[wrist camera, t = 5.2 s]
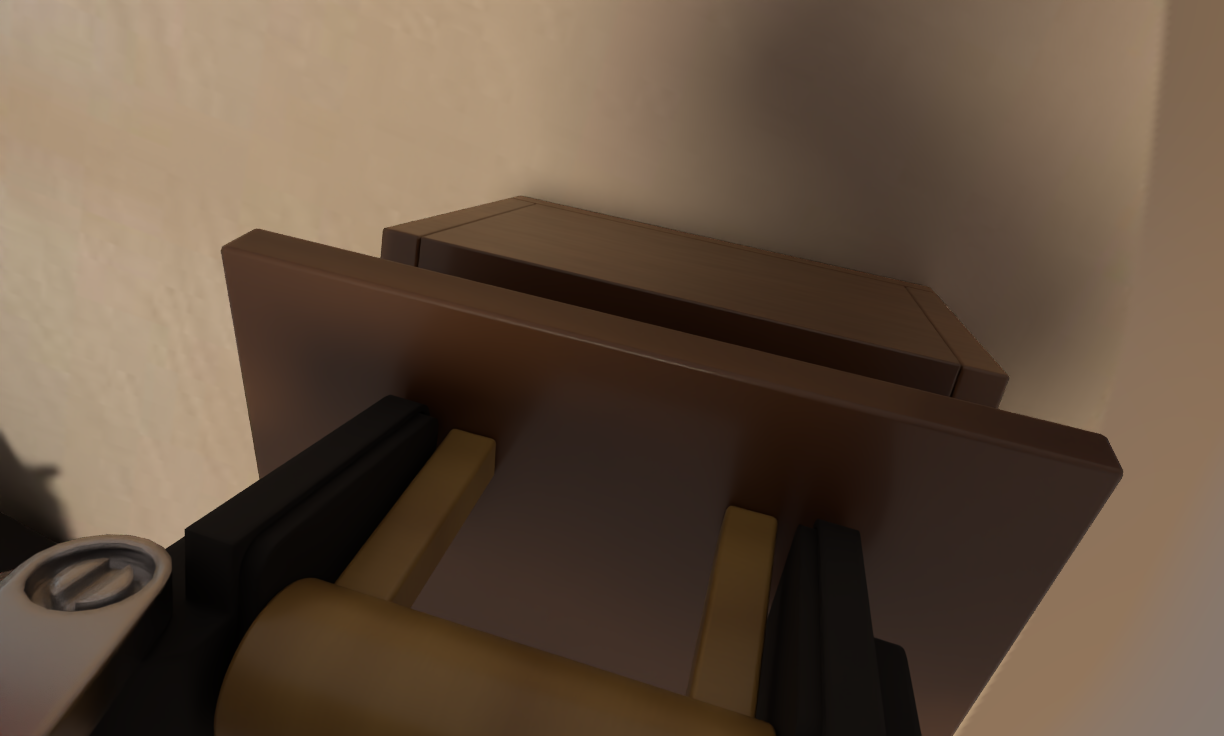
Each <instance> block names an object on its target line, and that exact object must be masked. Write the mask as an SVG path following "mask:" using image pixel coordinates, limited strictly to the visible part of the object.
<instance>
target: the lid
mask: <svg viewBox="0 0 1224 736" xmlns="http://www.w3.org/2000/svg"><path fill="white" fill-rule="evenodd" d="M221 254H222V260H223V266H224V272H225V278H226V284H227V290H228V296H229V302H230V307H231V313H232V319H233V325H234V331H235V337H236V343H237V349H238V355H239V361H240V366H241V372H242V378H243V384H244V390H245V396H246V402H247V408H248V414H249V420H250V425H251V431H252V437H253V443H254V449H255V455H256V461H257V467H258V473H259V479H261V478H263V477H264V476H266V475H267V474H269V473H270V472H272V471H273V470H275V469H276V468H278V467H279V466H281V465H282V464H284V463H285V462H287V461H289V460H290V459H292V458H293V457H295V456H296V455H298V454H299V453H301V452H302V451H304V450H305V449H307V448H308V447H310V446H311V445H313V444H314V443H316V442H317V441H319V440H320V439H322V438H323V437H325V436H326V435H328V434H329V433H331V432H332V431H334V430H335V429H337V428H338V427H340V426H341V425H343V424H344V423H346V422H347V421H349V420H350V419H352V418H354V417H355V416H357V415H358V414H360V413H361V412H363V411H364V410H366V409H367V408H369V407H370V406H372V405H373V404H375V403H376V402H378V401H379V400H381V399H382V398H384V397H385V396H388V395H393V396H397V397H400V398H404V399H407V400H411V401H414V402H418V403H421V404H425V405H427V407H428V408H429V412H430V416H431V417H434V418H437V420H438V424H439V427H438V437H437V445H436V451H435V452H434V453H433V454H432V456H431V457H430V458H429V460H428V461H427V462H426V464H425V465H424V466H423V468H422V469H421V470H420V471H419V473H418V474H417V475H416V477H415V478H414V479H413V481H412V482H411V483H410V485H409V486H408V487H407V489H406V490H405V491H404V492H403V494H402V495H401V496H400V498H399V499H398V500H397V502H396V503H395V504H394V506H393V507H392V508H391V509H390V511H389V512H388V513H387V515H386V516H385V517H384V519H383V520H382V521H381V523H380V524H379V525H378V526H377V528H376V529H375V530H374V532H373V533H372V534H371V536H370V537H369V538H368V540H367V541H366V542H365V544H364V545H363V546H362V547H361V549H360V550H359V551H358V553H357V554H356V555H355V557H354V558H353V559H352V561H351V562H350V563H349V564H348V566H347V567H346V568H345V570H344V571H343V572H342V574H341V575H340V576H339V578H338V579H337V580H336V581H335V583H334V584H333V583H330V582H326V581H323V580H320V579H317V578H304V579H299V580H297V581H294V582H292V583H291V584H289V585H288V586H286V587H285V588H283V589H282V590H281V591H280V592H279V593H277V594H276V595H275V596H274V597H273V598H272V599H271V600H270V601H269V603H268V604H267V605H266V606H265V607H264V608H263V610H262V611H261V612H260V613H259V615H258V616H257V617H256V619H255V620H254V622H253V623H252V624H251V626H250V627H249V629H248V631H247V632H246V634H245V635H244V637H243V639H242V641H241V642H240V644H239V646H238V648H237V650H236V652H235V654H234V656H233V658H232V660H231V662H230V665H229V667H228V669H227V672H226V674H225V677H224V680H223V683H222V686H221V689H220V692H219V696H218V700H217V704H216V709H215V715H214V736H777V735H776V731H775V728H774V727H773V726H772V725H771V724H770V723H769V722H766V721H763V720H759V719H756V712H757V703H758V694H759V685H760V676H761V668H762V659H763V650H764V641H765V632H766V624H767V618H768V615H769V612H770V609H771V606H772V603H773V599H774V596H775V593H776V590H777V587H778V584H779V581H780V578H781V575H782V572H783V569H784V566H785V563H786V560H787V557H788V554H789V551H790V547H791V544H792V541H793V538H794V535H795V532H796V530H797V528H798V526H799V524H800V525H803V526H807V527H810V528H813V525H814V523H815V521H816V520H817V519H821V520H824V521H827V522H831V523H834V524H838V525H841V526H845V527H848V528H852V529H855V530H858V531H859V532H860V536H861V544H862V551H863V559H864V567H865V574H866V582H867V590H868V597H869V605H870V613H871V620H872V628H873V635H874V637H875V638H878V639H881V640H884V641H887V642H891V643H894V644H897V645H900V646H901V647H902V648H904V650H905V653H906V656H907V660H908V665H909V671H910V676H911V681H912V686H913V692H914V697H915V702H916V708H917V713H918V718H919V724H920V729H921V734H922V736H953V735H954V733H955V732H956V730H957V728H958V727H959V725H960V724H961V722H962V721H963V719H964V718H965V716H966V715H967V713H968V712H969V710H970V709H971V707H972V706H973V704H974V703H975V701H976V700H977V698H978V696H979V695H980V693H981V692H982V690H983V689H984V687H985V686H986V684H987V683H988V681H989V680H990V678H991V677H992V675H993V674H994V672H995V671H996V669H997V668H998V666H999V664H1000V663H1001V661H1002V660H1003V658H1004V657H1005V655H1006V654H1007V652H1008V651H1009V649H1010V648H1011V646H1012V645H1013V643H1014V642H1015V640H1016V639H1017V637H1018V636H1019V634H1020V632H1021V631H1022V629H1023V628H1024V626H1025V625H1026V623H1027V622H1028V620H1029V619H1030V617H1031V616H1032V614H1033V613H1034V611H1035V610H1036V608H1037V607H1038V605H1039V604H1040V602H1041V600H1042V599H1043V597H1044V596H1045V594H1046V593H1047V591H1048V590H1049V588H1050V587H1051V585H1052V584H1053V582H1054V581H1055V579H1056V577H1057V576H1058V574H1059V573H1060V572H1061V570H1062V568H1063V567H1064V565H1065V564H1066V562H1067V561H1068V559H1069V558H1070V556H1071V555H1072V553H1073V552H1074V550H1075V548H1076V547H1077V546H1078V544H1079V543H1080V541H1081V540H1082V538H1083V536H1084V535H1085V533H1086V532H1087V530H1088V528H1089V527H1090V525H1091V524H1092V523H1093V521H1094V520H1095V518H1096V517H1097V515H1098V514H1099V512H1100V511H1101V509H1102V508H1103V506H1104V504H1105V503H1106V501H1107V500H1108V498H1109V497H1110V495H1111V494H1112V492H1113V491H1114V489H1115V487H1116V486H1117V485H1118V483H1119V482H1120V480H1121V479H1122V476H1123V469H1122V467H1121V465H1120V463H1119V461H1118V459H1117V457H1116V455H1115V453H1114V451H1113V449H1112V447H1111V445H1110V443H1109V441H1108V439H1107V438H1106V437H1105V436H1103V435H1101V434H1098V433H1094V432H1090V431H1086V430H1082V429H1078V428H1074V427H1070V426H1065V425H1061V424H1057V423H1053V422H1049V421H1045V420H1041V419H1037V418H1033V417H1029V416H1024V415H1020V414H1016V413H1012V412H1008V411H1004V410H1000V409H996V408H992V407H988V406H983V405H979V404H975V403H971V402H967V401H963V400H959V399H955V398H951V397H947V396H942V395H938V394H934V393H930V392H926V391H922V390H918V389H914V388H910V387H906V386H901V385H897V384H893V383H889V382H885V381H881V380H877V379H873V378H869V377H865V376H860V375H856V374H852V373H848V372H844V371H840V370H836V369H832V368H828V367H824V366H820V365H815V364H811V363H807V362H803V361H799V360H795V359H791V358H787V357H783V356H779V355H774V354H770V353H766V352H762V351H758V350H754V349H750V348H746V347H742V346H738V345H733V344H729V343H725V342H721V341H717V340H713V339H709V338H705V337H701V336H697V335H692V334H688V333H684V332H680V331H676V330H672V329H668V328H664V327H660V326H656V325H651V324H647V323H643V322H639V321H635V320H631V319H627V318H623V317H619V316H615V315H610V314H606V313H602V312H598V311H594V310H590V309H586V308H582V307H578V306H574V305H569V304H565V303H561V302H557V301H553V300H549V299H545V298H541V297H537V296H533V295H528V294H524V293H520V292H516V291H512V290H508V289H504V288H500V287H496V286H492V285H487V284H483V283H479V282H475V281H471V280H467V279H463V278H459V277H455V276H451V275H447V274H442V273H438V272H434V271H430V270H426V269H422V268H418V267H414V266H410V265H406V264H401V263H397V262H393V261H389V260H385V259H381V258H377V257H373V256H369V255H365V254H360V253H356V252H352V251H348V250H344V249H340V248H336V247H332V246H328V245H324V244H319V243H315V242H311V241H307V240H303V239H299V238H295V237H291V236H287V235H283V234H278V233H274V232H270V231H266V230H262V229H254V230H252V231H250V232H248V233H246V234H244V235H242V236H241V237H239V238H237V239H235V240H233V241H231V242H229V243H228V244H226V245H224V246H223V247H222V249H221Z"/></svg>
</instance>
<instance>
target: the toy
mask: <svg viewBox="0 0 1224 736" xmlns="http://www.w3.org/2000/svg"><path fill="white" fill-rule="evenodd" d="M55 545H57V543H55V542H54V541H52V540H50V539H48V538H46V537H45V536H43V535H41V534H39V533H37V532H36V531H34V530H32V529H30V528H28V527H27V526H25V525H23V524H21V523H19V522H18V521H16V520H14V519H12V518H10V517H9V516H7V515H5V514H3V513H1V512H0V573H1V572H5V571H9V570H13V569H16V568H17V567H18V566H19V565H21V564H22V563H23V562H25V561H26V560H28V559H29V558H31V557H32V556H33V555H35V554H36V553H39V552H41V551H43V550H46V549H48V548H50V547H52V546H55Z"/></svg>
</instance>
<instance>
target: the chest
mask: <svg viewBox="0 0 1224 736" xmlns="http://www.w3.org/2000/svg"><path fill="white" fill-rule="evenodd" d="M381 259H385V260H389V261H393V262H397V263H401V264H406V265H410V266H414V267H418V268H422V269H426V270H430V271H434V272H438V273H442V274H447V275H451V276H455V277H459V278H463V279H467V280H471V281H475V282H479V283H483V284H487V285H492V286H496V287H500V288H504V289H508V290H512V291H516V292H520V293H524V294H528V295H533V296H537V297H541V298H545V299H549V300H553V301H557V302H561V303H565V304H569V305H574V306H578V307H582V308H586V309H590V310H594V311H598V312H602V313H606V314H610V315H615V316H619V317H623V318H627V319H631V320H635V321H639V322H643V323H647V324H651V325H656V326H660V327H664V328H668V329H672V330H676V331H680V332H684V333H688V334H692V335H697V336H701V337H705V338H709V339H713V340H717V341H721V342H725V343H729V344H733V345H738V346H742V347H746V348H750V349H754V350H758V351H762V352H766V353H770V354H774V355H779V356H783V357H787V358H791V359H795V360H799V361H803V362H807V363H811V364H815V365H820V366H824V367H828V368H832V369H836V370H840V371H844V372H848V373H852V374H856V375H860V376H865V377H869V378H873V379H877V380H881V381H885V382H889V383H893V384H897V385H901V386H906V387H910V388H914V389H918V390H922V391H926V392H930V393H934V394H938V395H942V396H947V397H951V398H955V399H959V400H963V401H967V402H971V403H975V404H979V405H983V406H988V407H992V408H996V409H998V407H999V404H1000V401H1001V399H1002V396H1003V394H1004V391H1005V389H1006V386H1007V383H1008V381H1009V376H1008V375H1007V374H1006V372H1005V371H1004V370H1003V369H1002V368H1001V367H1000V366H999V364H998V363H997V362H996V361H995V360H994V359H993V358H992V357H991V355H990V354H989V353H988V352H987V351H986V350H985V349H984V348H983V346H982V345H981V344H980V343H979V342H978V341H977V340H976V339H975V337H974V336H973V335H972V334H971V333H970V332H969V331H968V329H967V328H966V327H965V326H964V325H963V324H962V323H961V322H960V320H959V319H958V318H957V317H956V316H955V315H954V314H953V313H952V311H951V310H950V309H949V308H948V307H947V306H946V305H945V304H944V302H943V301H942V300H941V299H940V298H939V297H938V296H937V294H935V293H934V291H933V290H932V289H931V288H930V287H927V286H922V285H918V284H913V283H909V282H904V281H900V280H895V279H891V278H886V277H882V276H878V275H873V274H869V273H864V272H860V271H855V270H851V269H846V268H842V267H837V266H833V265H828V264H824V263H819V262H815V261H810V260H806V259H801V258H797V257H792V256H788V255H783V254H779V253H775V252H770V251H766V250H761V249H757V248H752V247H748V246H743V245H739V244H734V243H730V242H725V241H721V240H716V239H712V238H707V237H703V236H698V235H694V234H689V233H685V232H681V231H676V230H672V229H667V228H663V227H658V226H654V225H649V224H645V223H640V222H636V221H631V220H627V219H622V218H618V217H613V216H609V215H604V214H600V213H595V212H591V211H586V210H582V209H578V208H573V207H569V206H564V205H560V204H555V203H551V202H546V201H542V200H537V199H533V198H528V197H524V196H517V197H513V198H508V199H504V200H500V201H496V202H492V203H487V204H483V205H479V206H475V207H471V208H467V209H462V210H458V211H454V212H450V213H446V214H442V215H437V216H433V217H429V218H425V219H421V220H417V221H412V222H408V223H404V224H400V225H396V226H391V227H387V228H384V230H383V236H382V248H381Z"/></svg>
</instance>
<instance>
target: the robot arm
mask: <svg viewBox="0 0 1224 736" xmlns="http://www.w3.org/2000/svg"><path fill="white" fill-rule="evenodd" d="M438 427H439V424H438V420H437V418H434V417H431V416H430V412H429V408H428V407H427V405H425V404H421V403H418V402H414V401H411V400H407V399H404V398H400V397H397V396H393V395H388V396H385V397H384V398H382V399H381V400H379V401H378V402H376V403H375V404H373V405H372V406H370V407H369V408H367V409H366V410H364V411H363V412H361V413H360V414H358V415H357V416H355V417H354V418H352V419H350V420H349V421H347V422H346V423H344V424H343V425H341V426H340V427H338V428H337V429H335V430H334V431H332V432H331V433H329V434H328V435H326V436H325V437H323V438H322V439H320V440H319V441H317V442H316V443H314V444H313V445H311V446H310V447H308V448H307V449H305V450H304V451H302V452H301V453H299V454H298V455H296V456H295V457H293V458H292V459H290V460H289V461H287V462H285V463H284V464H282V465H281V466H279V467H278V468H276V469H275V470H273V471H272V472H270V473H269V474H267V475H266V476H264V477H263V478H261V479H260V480H258V481H257V482H255V483H254V484H252V485H251V486H249V487H248V488H246V489H245V490H243V491H242V492H240V493H239V494H237V495H236V496H234V497H233V498H231V499H230V500H228V501H227V502H225V503H224V504H222V505H220V506H219V507H217V508H216V509H214V510H213V511H211V512H210V513H208V514H207V515H205V516H204V517H202V518H201V519H199V520H198V521H196V522H195V523H193V524H192V525H190V526H189V527H187V528H186V529H185V536H184V537H183V538H181V539H180V540H178V541H177V542H175V543H174V544H172V545H171V546H169V547H168V548H166V549H164V547H162V546H160V545H158V544H156V543H155V542H153V541H151V540H149V539H145V538H140V537H136V536H131V535H111V534H106V535H98V536H89V537H82V538H78V539H75V540H71V541H67V542H63V543H60V544H57V545H55V546H52V547H50V548H48V549H46V550H43V551H41V552H39V553H36V554H35V555H33V556H32V557H31V558H29V559H28V560H26V561H25V562H23V563H22V564H21V565H19V566H18V567H17V568H16V569H14V570H13V571H12V572H11V573H10V574H9V575H8V576H7V577H6V578H4V579H3V580H2V581H1V582H0V736H214V715H215V709H216V704H217V700H218V696H219V692H220V689H221V686H222V683H223V680H224V677H225V674H226V672H227V669H228V667H229V665H230V662H231V660H232V658H233V656H234V654H235V652H236V650H237V648H238V646H239V644H240V642H241V641H242V639H243V637H244V635H245V634H246V632H247V631H248V629H249V627H250V626H251V624H252V623H253V622H254V620H255V619H256V617H257V616H258V615H259V613H260V612H261V611H262V610H263V608H264V607H265V606H266V605H267V604H268V603H269V601H270V600H271V599H272V598H273V597H274V596H275V595H276V594H277V593H279V592H280V591H281V590H282V589H283V588H285V587H286V586H288V585H289V584H291V583H292V582H294V581H297V580H299V579H304V578H317V579H320V580H323V581H326V582H330V583H333V584H334V583H335V581H336V580H337V579H338V578H339V576H340V575H341V574H342V572H343V571H344V570H345V568H346V567H347V566H348V564H349V563H350V562H351V561H352V559H353V558H354V557H355V555H356V554H357V553H358V551H359V550H360V549H361V547H362V546H363V545H364V544H365V542H366V541H367V540H368V538H369V537H370V536H371V534H372V533H373V532H374V530H375V529H376V528H377V526H378V525H379V524H380V523H381V521H382V520H383V519H384V517H385V516H386V515H387V513H388V512H389V511H390V509H391V508H392V507H393V506H394V504H395V503H396V502H397V500H398V499H399V498H400V496H401V495H402V494H403V492H404V491H405V490H406V489H407V487H408V486H409V485H410V483H411V482H412V481H413V479H414V478H415V477H416V475H417V474H418V473H419V471H420V470H421V469H422V468H423V466H424V465H425V464H426V462H427V461H428V460H429V458H430V457H431V456H432V454H433V453H434V452H435V451H436V445H437V437H438ZM756 719H759V720H763V721H766V722H769V723H770V724H771V725H772V726H773V727H774V728H775V731H776V735H777V736H922V734H921V729H920V724H919V718H918V713H917V708H916V702H915V697H914V692H913V686H912V681H911V676H910V671H909V665H908V660H907V656H906V653H905V650H904V648H902V647H901V646H900V645H897V644H894V643H891V642H887V641H884V640H881V639H878V638H875V637H874V635H873V628H872V620H871V613H870V605H869V597H868V590H867V582H866V574H865V567H864V559H863V551H862V544H861V536H860V532H859V531H858V530H855V529H852V528H848V527H845V526H841V525H838V524H834V523H831V522H827V521H824V520H821V519H817V520H816V521H815V523H814V525H813V528H810V527H807V526H803V525H800V524H799V526H798V528H797V530H796V532H795V535H794V538H793V541H792V544H791V547H790V551H789V554H788V557H787V560H786V563H785V566H784V569H783V572H782V575H781V578H780V581H779V584H778V587H777V590H776V593H775V596H774V599H773V603H772V606H771V609H770V612H769V615H768V618H767V624H766V632H765V641H764V650H763V659H762V668H761V676H760V685H759V694H758V703H757V712H756Z"/></svg>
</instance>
